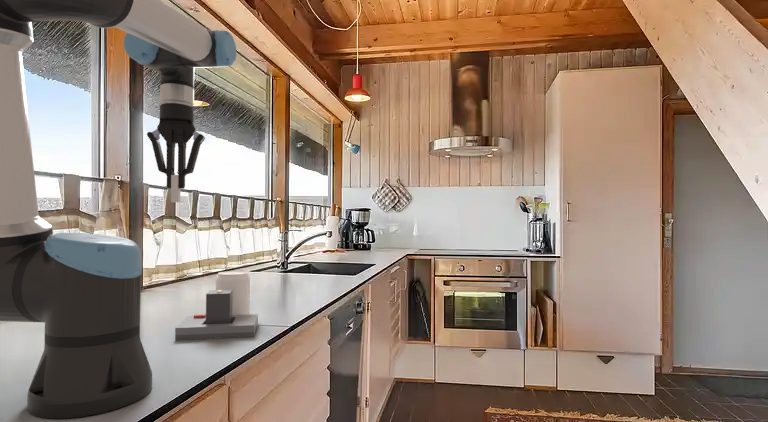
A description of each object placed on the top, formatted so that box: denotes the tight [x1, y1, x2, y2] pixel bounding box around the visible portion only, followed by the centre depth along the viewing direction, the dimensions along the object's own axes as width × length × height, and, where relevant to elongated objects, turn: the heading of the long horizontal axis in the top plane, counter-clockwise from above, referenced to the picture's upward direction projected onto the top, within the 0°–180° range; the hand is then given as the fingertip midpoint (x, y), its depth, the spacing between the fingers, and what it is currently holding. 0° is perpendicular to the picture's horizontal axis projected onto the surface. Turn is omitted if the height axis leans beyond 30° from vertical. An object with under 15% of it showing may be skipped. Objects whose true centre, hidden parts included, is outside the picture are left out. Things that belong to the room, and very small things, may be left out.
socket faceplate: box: [174, 313, 259, 341], centre depth 102 cm, size 11×16×3 cm
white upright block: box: [215, 270, 251, 315], centre depth 113 cm, size 8×8×12 cm
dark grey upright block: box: [205, 289, 233, 324], centre depth 102 cm, size 5×5×8 cm
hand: (175, 202), depth 110 cm, fingers closed
